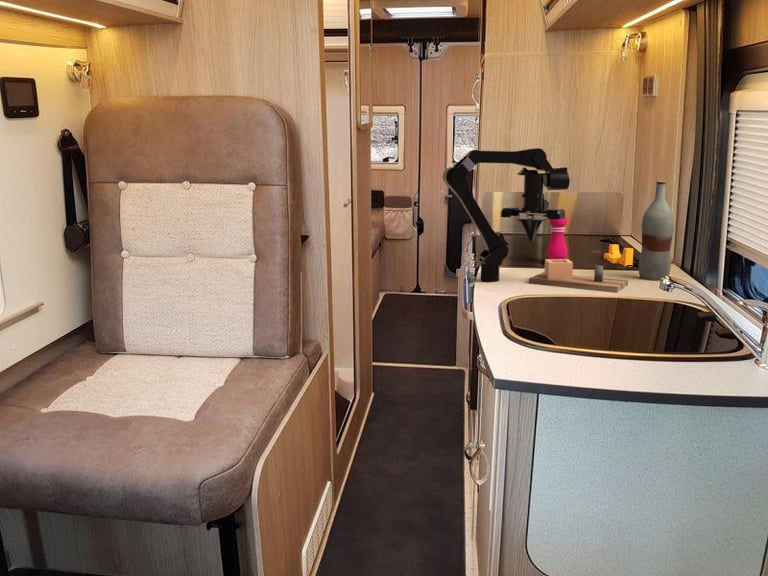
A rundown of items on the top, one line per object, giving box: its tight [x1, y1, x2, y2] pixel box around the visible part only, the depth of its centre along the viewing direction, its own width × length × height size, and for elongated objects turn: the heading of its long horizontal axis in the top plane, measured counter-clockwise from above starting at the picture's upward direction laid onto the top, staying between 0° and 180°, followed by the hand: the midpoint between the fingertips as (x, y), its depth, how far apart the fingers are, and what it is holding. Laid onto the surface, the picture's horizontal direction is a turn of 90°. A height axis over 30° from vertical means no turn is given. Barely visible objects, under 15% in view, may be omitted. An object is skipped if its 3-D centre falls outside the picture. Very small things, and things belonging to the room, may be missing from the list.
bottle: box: [638, 180, 675, 281], centre depth 192 cm, size 9×9×30 cm
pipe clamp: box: [603, 243, 634, 267], centre depth 221 cm, size 12×4×6 cm, turn 8°
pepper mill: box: [545, 215, 568, 259], centre depth 218 cm, size 7×7×20 cm
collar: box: [544, 258, 574, 280], centre depth 189 cm, size 7×7×5 cm
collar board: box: [528, 264, 629, 293], centre depth 186 cm, size 12×26×6 cm, turn 56°
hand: (531, 241), depth 193 cm, fingers closed
